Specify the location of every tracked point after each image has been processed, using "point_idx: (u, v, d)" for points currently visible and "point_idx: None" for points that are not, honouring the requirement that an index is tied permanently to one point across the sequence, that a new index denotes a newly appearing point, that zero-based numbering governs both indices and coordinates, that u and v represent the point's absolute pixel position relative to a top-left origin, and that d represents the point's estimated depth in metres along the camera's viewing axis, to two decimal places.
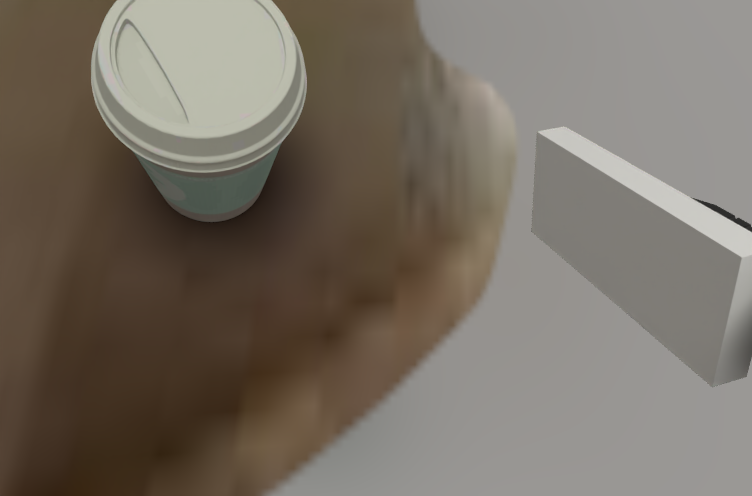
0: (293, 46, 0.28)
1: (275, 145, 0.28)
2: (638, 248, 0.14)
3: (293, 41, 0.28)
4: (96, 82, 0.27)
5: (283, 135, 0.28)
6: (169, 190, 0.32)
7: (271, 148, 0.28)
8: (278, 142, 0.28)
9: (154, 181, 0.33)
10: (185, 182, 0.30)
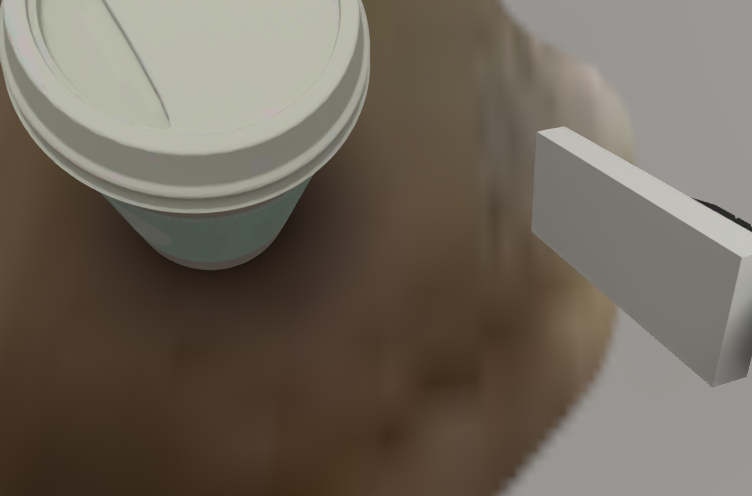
0: None
1: (322, 163, 0.16)
2: (638, 248, 0.14)
3: None
4: (6, 56, 0.15)
5: (335, 145, 0.17)
6: (146, 232, 0.21)
7: (315, 168, 0.16)
8: (327, 158, 0.17)
9: None
10: (169, 224, 0.18)
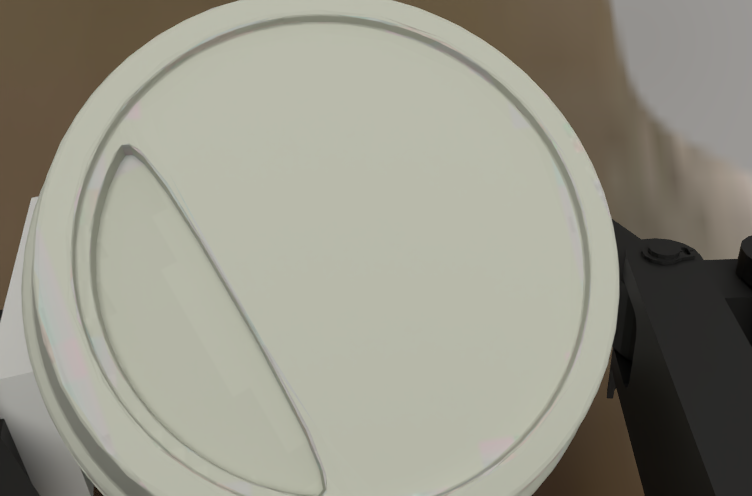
0: (607, 210, 0.10)
1: None
2: None
3: (603, 195, 0.10)
4: (35, 338, 0.09)
5: None
6: None
7: None
8: None
9: None
10: None
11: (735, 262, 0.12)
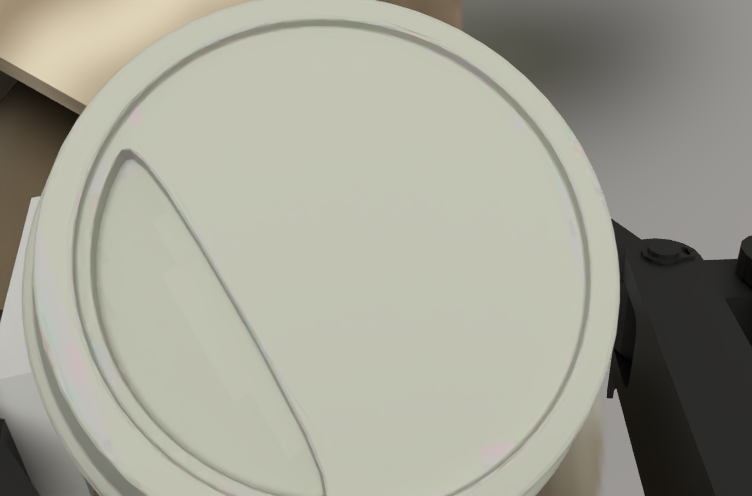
0: (606, 215, 0.10)
1: None
2: None
3: (603, 199, 0.10)
4: (35, 343, 0.09)
5: None
6: None
7: None
8: None
9: None
10: None
11: (735, 262, 0.12)
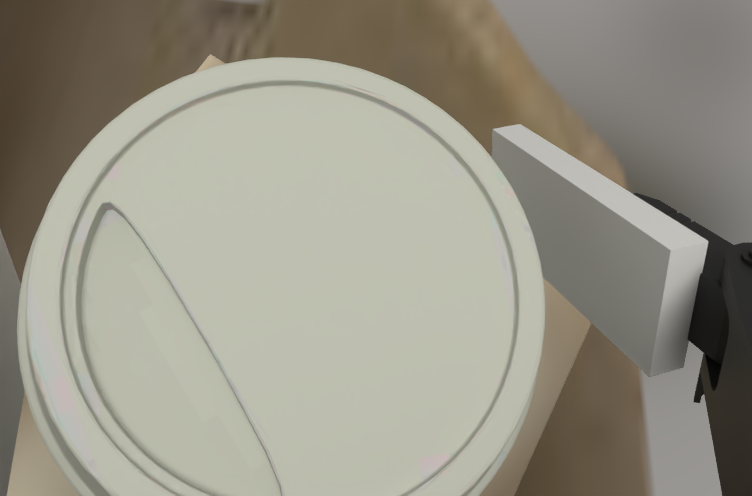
0: (534, 250, 0.11)
1: None
2: (582, 242, 0.14)
3: (531, 236, 0.11)
4: (29, 374, 0.10)
5: None
6: None
7: None
8: None
9: None
10: None
11: None
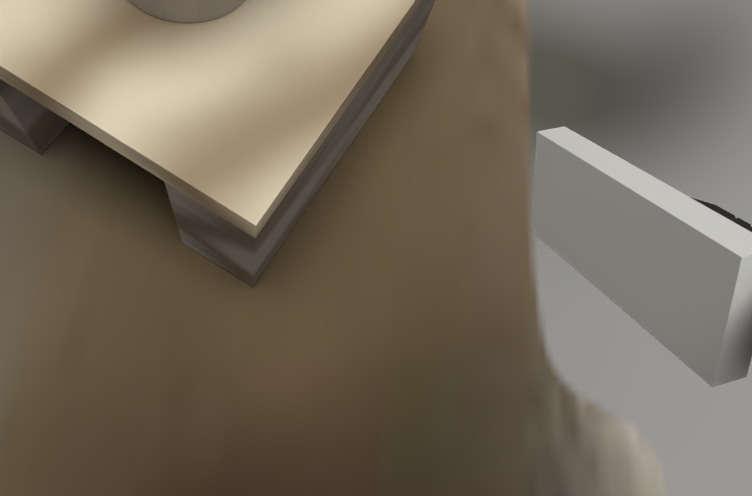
0: None
1: None
2: (638, 248, 0.14)
3: None
4: None
5: None
6: None
7: None
8: None
9: None
10: None
11: None
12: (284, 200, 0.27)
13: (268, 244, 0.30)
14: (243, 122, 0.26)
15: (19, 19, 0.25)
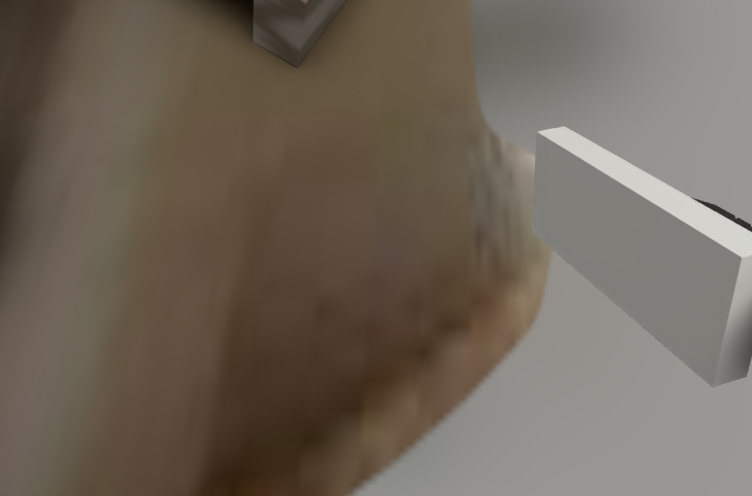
0: None
1: None
2: (638, 248, 0.14)
3: None
4: None
5: None
6: None
7: None
8: None
9: None
10: None
11: None
12: None
13: (309, 26, 0.51)
14: None
15: None
